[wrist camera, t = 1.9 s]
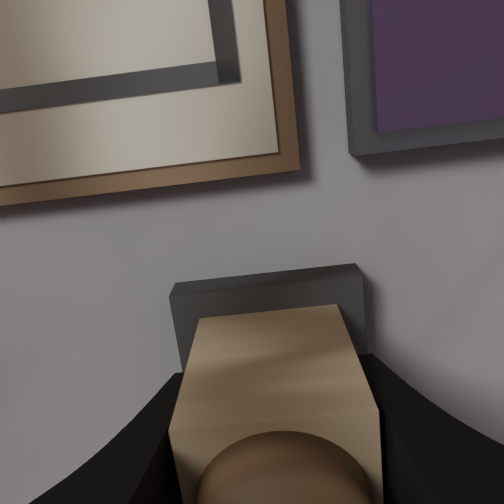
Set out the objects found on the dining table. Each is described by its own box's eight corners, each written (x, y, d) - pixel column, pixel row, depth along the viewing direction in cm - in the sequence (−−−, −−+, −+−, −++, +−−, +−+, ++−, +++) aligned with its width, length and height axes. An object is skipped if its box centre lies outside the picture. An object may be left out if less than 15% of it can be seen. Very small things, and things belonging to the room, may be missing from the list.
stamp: (354, 263, 13) (448, 416, 7) (364, 417, 14) (448, 666, 8) (175, 283, 13) (96, 449, 7) (202, 432, 15) (158, 685, 8)
